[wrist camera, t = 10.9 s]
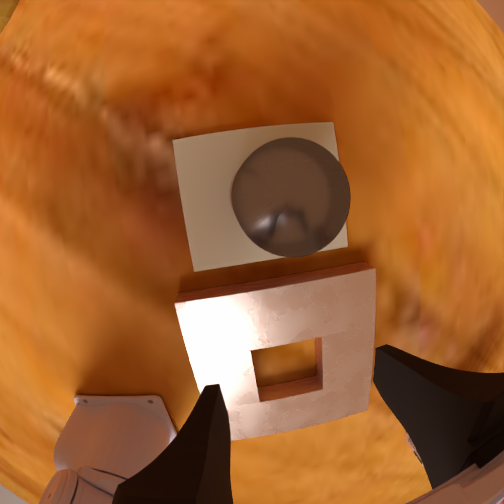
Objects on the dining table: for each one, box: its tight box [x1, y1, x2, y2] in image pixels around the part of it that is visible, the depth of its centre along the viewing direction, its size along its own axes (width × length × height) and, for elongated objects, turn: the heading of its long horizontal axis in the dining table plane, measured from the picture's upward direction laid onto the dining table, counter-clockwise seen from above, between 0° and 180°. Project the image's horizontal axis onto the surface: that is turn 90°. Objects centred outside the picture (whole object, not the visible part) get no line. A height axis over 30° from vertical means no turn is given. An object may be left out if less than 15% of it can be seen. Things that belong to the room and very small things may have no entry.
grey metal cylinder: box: [230, 137, 350, 257], centre depth 15 cm, size 5×5×8 cm
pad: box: [173, 122, 348, 272], centre depth 19 cm, size 11×9×1 cm
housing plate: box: [175, 261, 376, 440], centre depth 21 cm, size 14×14×2 cm
